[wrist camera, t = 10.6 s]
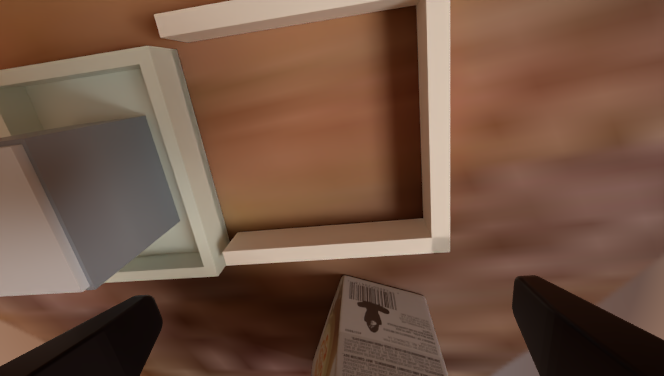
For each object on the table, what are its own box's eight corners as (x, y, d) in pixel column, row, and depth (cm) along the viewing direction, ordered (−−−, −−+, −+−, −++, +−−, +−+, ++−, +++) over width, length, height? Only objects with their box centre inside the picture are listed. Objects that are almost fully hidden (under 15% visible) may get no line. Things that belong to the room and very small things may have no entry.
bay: (436, -22, 15) (450, -39, 13) (439, 230, 20) (450, 251, 17) (182, 22, 17) (153, 14, 14) (241, 244, 21) (226, 265, 19)
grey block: (145, 115, 18) (12, 140, 11) (180, 220, 20) (88, 295, 14) (71, 125, 19) (-97, 154, 12) (113, 226, 21) (-7, 300, 14)
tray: (176, 49, 17) (147, 45, 15) (233, 254, 22) (218, 276, 19) (18, 75, 19) (-32, 75, 16) (102, 263, 23) (73, 284, 21)
